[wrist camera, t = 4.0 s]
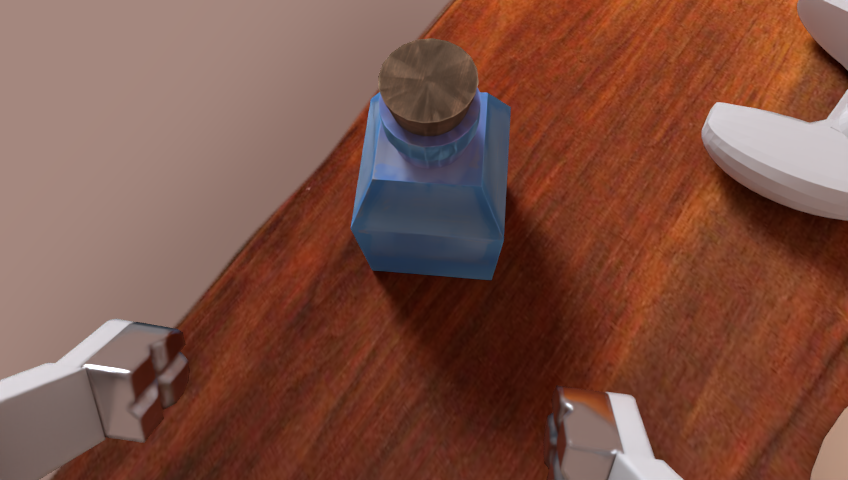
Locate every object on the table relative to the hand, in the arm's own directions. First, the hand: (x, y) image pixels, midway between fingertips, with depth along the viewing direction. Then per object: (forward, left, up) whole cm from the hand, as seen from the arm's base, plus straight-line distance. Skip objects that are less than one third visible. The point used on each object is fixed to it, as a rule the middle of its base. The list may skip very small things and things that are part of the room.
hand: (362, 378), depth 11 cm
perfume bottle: (+3, +9, -14) cm, 17 cm away
